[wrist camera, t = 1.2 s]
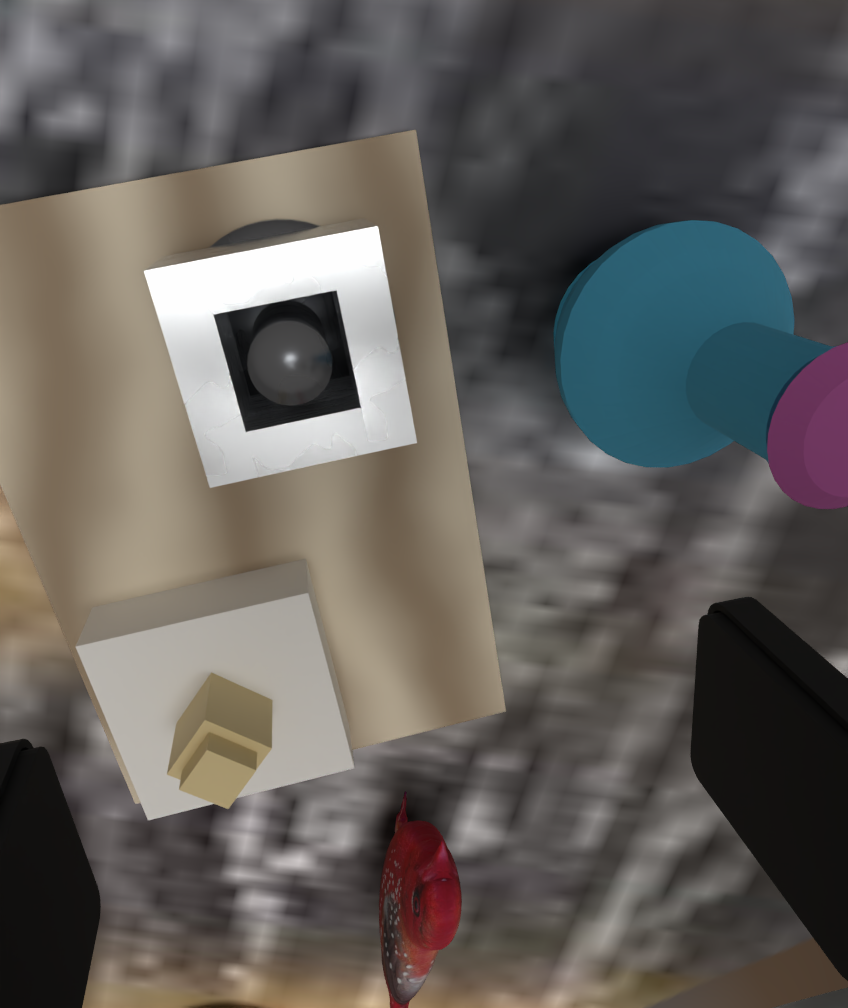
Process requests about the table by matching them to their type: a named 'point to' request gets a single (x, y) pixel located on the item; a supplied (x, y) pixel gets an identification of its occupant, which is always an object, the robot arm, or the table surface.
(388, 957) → the decorative bird figurine
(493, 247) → the table surface
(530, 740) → the table surface
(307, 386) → the rod stand
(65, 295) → the board
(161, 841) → the table surface
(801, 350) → the perfume bottle
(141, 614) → the block
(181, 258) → the steel collar
